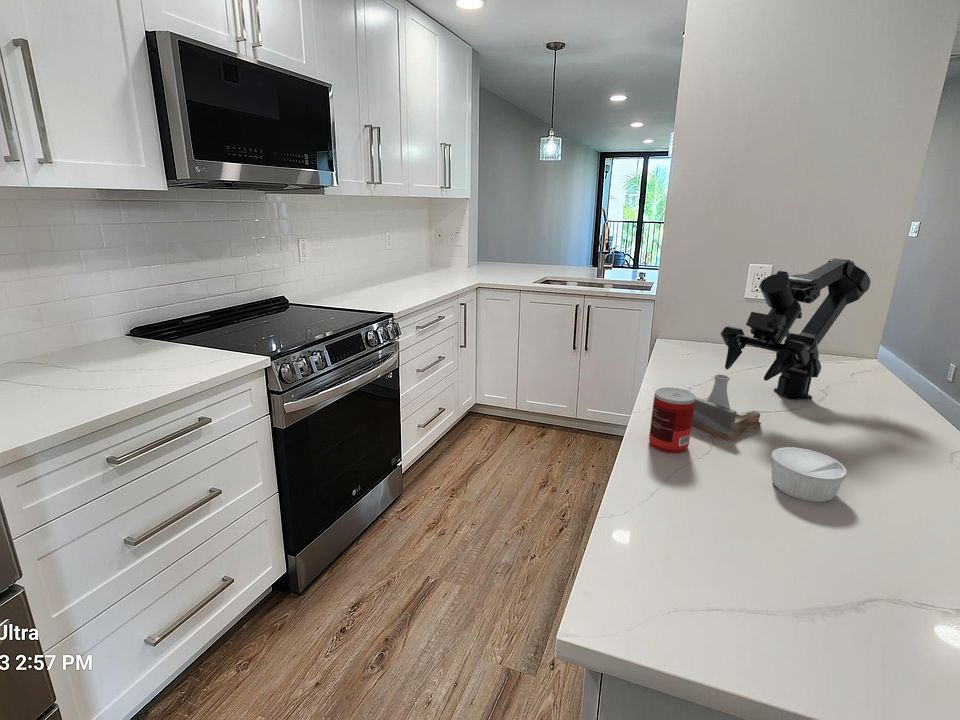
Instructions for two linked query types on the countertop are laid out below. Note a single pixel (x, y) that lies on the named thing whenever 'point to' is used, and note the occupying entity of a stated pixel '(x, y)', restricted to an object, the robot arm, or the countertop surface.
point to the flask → (720, 391)
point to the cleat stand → (722, 420)
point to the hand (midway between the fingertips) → (744, 374)
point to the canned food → (672, 419)
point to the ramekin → (806, 474)
